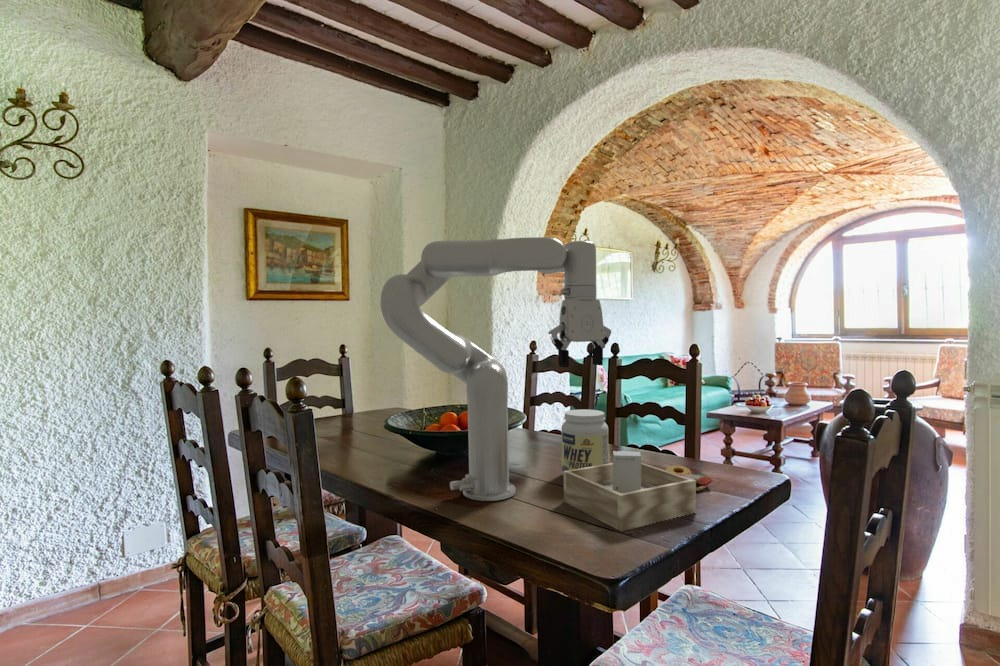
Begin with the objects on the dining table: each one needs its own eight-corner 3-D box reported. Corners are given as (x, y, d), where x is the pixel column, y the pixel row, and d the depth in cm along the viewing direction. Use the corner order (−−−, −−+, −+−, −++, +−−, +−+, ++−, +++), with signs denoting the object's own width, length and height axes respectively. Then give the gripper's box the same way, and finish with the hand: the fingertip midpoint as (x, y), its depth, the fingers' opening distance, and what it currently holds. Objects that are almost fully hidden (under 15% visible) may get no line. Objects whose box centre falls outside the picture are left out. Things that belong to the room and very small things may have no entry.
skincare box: (613, 510, 120) (612, 455, 119) (612, 503, 124) (612, 450, 124) (642, 511, 119) (641, 455, 118) (640, 504, 123) (640, 451, 122)
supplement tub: (554, 479, 143) (553, 414, 142) (571, 468, 154) (570, 407, 153) (600, 485, 137) (599, 417, 137) (614, 473, 148) (613, 410, 147)
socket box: (621, 531, 108) (620, 495, 108) (563, 501, 126) (563, 471, 125) (696, 513, 117) (695, 480, 117) (632, 488, 135) (632, 459, 134)
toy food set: (675, 475, 146) (675, 463, 146) (721, 487, 135) (721, 473, 135) (642, 485, 138) (642, 472, 138) (688, 498, 127) (688, 484, 127)
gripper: (558, 292, 124) (558, 369, 125) (619, 293, 132) (620, 365, 132) (540, 294, 131) (541, 366, 131) (600, 294, 139) (600, 363, 139)
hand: (581, 365), depth 132 cm, fingers open, 9 cm apart
